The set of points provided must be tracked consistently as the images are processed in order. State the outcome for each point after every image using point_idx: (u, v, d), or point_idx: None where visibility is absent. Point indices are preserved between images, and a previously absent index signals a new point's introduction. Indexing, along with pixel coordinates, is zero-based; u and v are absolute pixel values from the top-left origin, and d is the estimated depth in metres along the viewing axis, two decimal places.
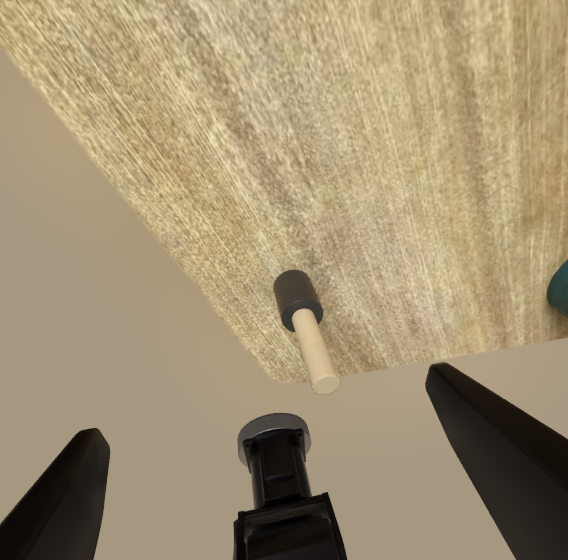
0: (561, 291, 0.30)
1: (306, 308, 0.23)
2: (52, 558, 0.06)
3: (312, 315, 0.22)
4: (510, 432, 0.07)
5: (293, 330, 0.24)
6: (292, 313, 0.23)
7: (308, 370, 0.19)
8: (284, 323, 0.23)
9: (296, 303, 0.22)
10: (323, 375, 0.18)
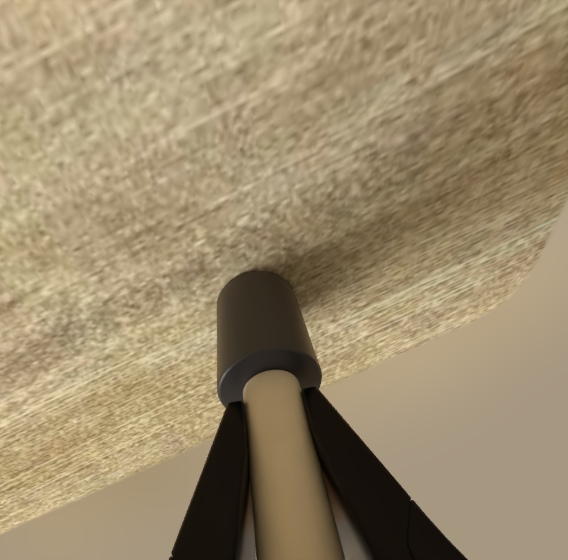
0: None
1: (245, 385, 0.09)
2: (246, 514, 0.06)
3: (250, 399, 0.08)
4: (340, 469, 0.06)
5: None
6: None
7: None
8: None
9: (226, 405, 0.09)
10: None
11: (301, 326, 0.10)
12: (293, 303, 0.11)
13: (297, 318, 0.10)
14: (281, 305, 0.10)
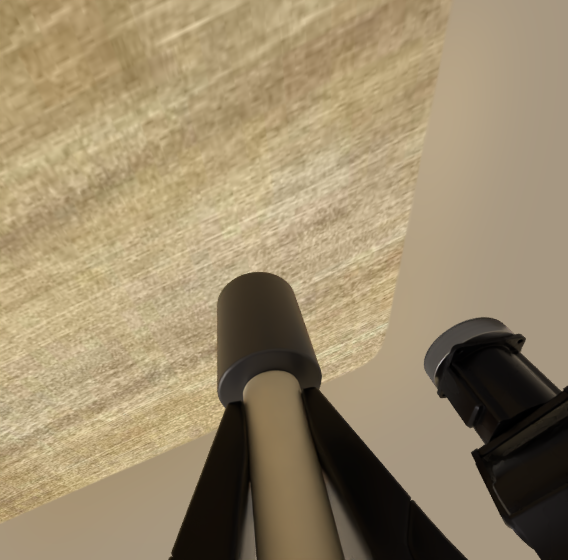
0: None
1: (245, 386, 0.09)
2: (246, 514, 0.06)
3: (250, 400, 0.08)
4: (341, 469, 0.06)
5: None
6: None
7: None
8: None
9: (226, 405, 0.09)
10: None
11: (301, 327, 0.10)
12: (293, 304, 0.11)
13: (297, 318, 0.10)
14: (281, 306, 0.10)
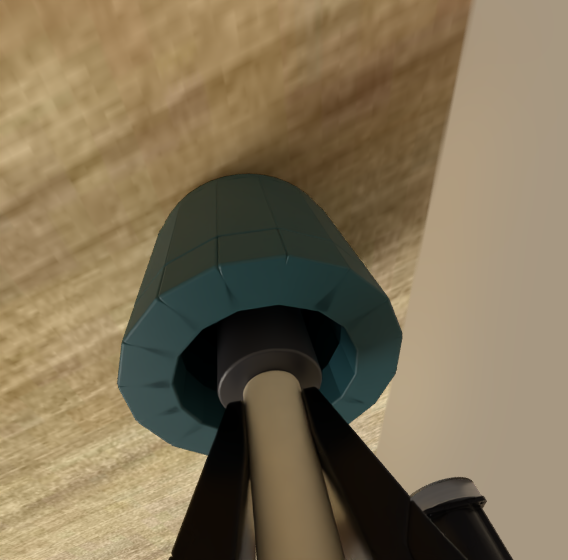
0: None
1: (245, 386, 0.09)
2: (246, 514, 0.06)
3: (250, 400, 0.08)
4: (341, 469, 0.06)
5: None
6: None
7: None
8: None
9: (226, 405, 0.09)
10: None
11: (301, 327, 0.10)
12: None
13: (297, 318, 0.10)
14: (282, 306, 0.10)
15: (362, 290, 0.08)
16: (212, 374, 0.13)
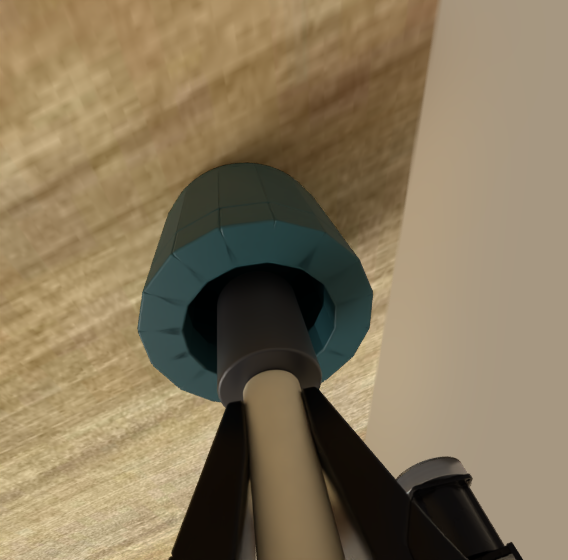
0: None
1: (245, 385, 0.09)
2: (246, 514, 0.06)
3: (250, 399, 0.08)
4: (341, 469, 0.06)
5: None
6: None
7: None
8: None
9: (226, 405, 0.09)
10: None
11: (301, 326, 0.10)
12: (293, 303, 0.11)
13: (297, 318, 0.10)
14: (281, 305, 0.10)
15: (336, 251, 0.10)
16: (214, 338, 0.15)
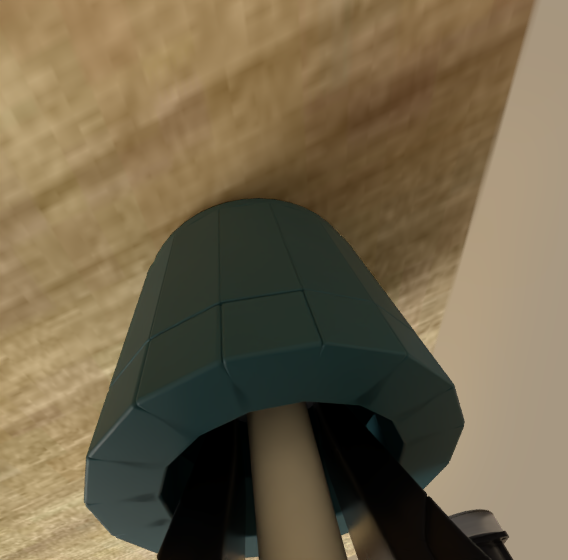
0: None
1: None
2: (234, 517, 0.06)
3: None
4: (356, 466, 0.06)
5: None
6: None
7: None
8: None
9: None
10: None
11: None
12: None
13: None
14: None
15: (421, 379, 0.06)
16: None
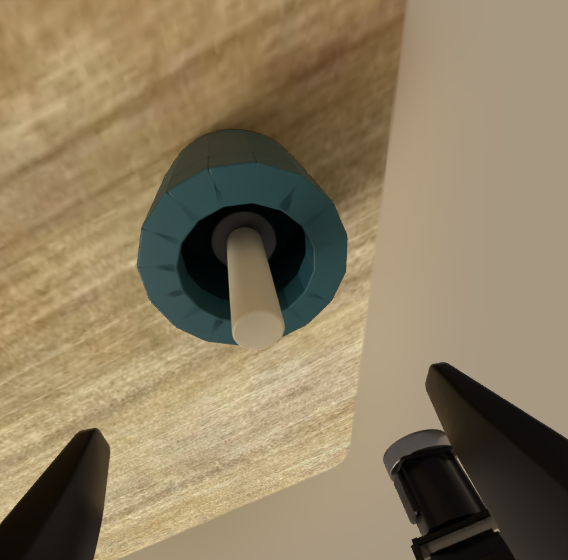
0: None
1: (228, 238, 0.15)
2: (52, 558, 0.06)
3: (230, 240, 0.14)
4: (510, 432, 0.07)
5: (270, 253, 0.15)
6: None
7: None
8: None
9: (216, 254, 0.15)
10: (234, 336, 0.10)
11: (265, 209, 0.16)
12: None
13: (263, 206, 0.16)
14: None
15: (312, 194, 0.12)
16: (207, 291, 0.17)
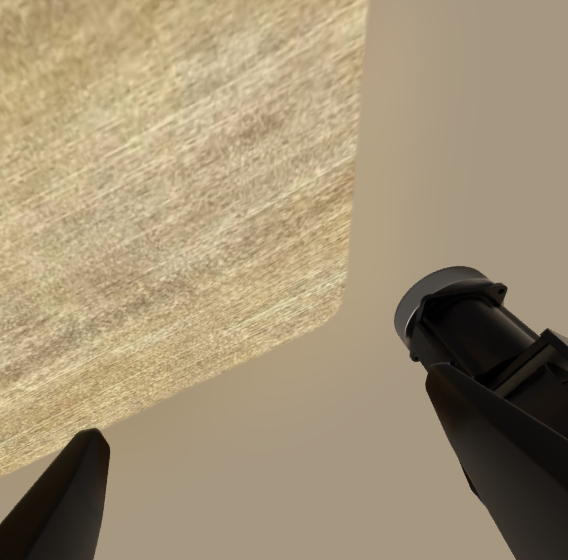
0: None
1: None
2: (52, 558, 0.06)
3: None
4: (510, 432, 0.07)
5: None
6: None
7: None
8: None
9: None
10: None
11: None
12: None
13: None
14: None
15: None
16: None
